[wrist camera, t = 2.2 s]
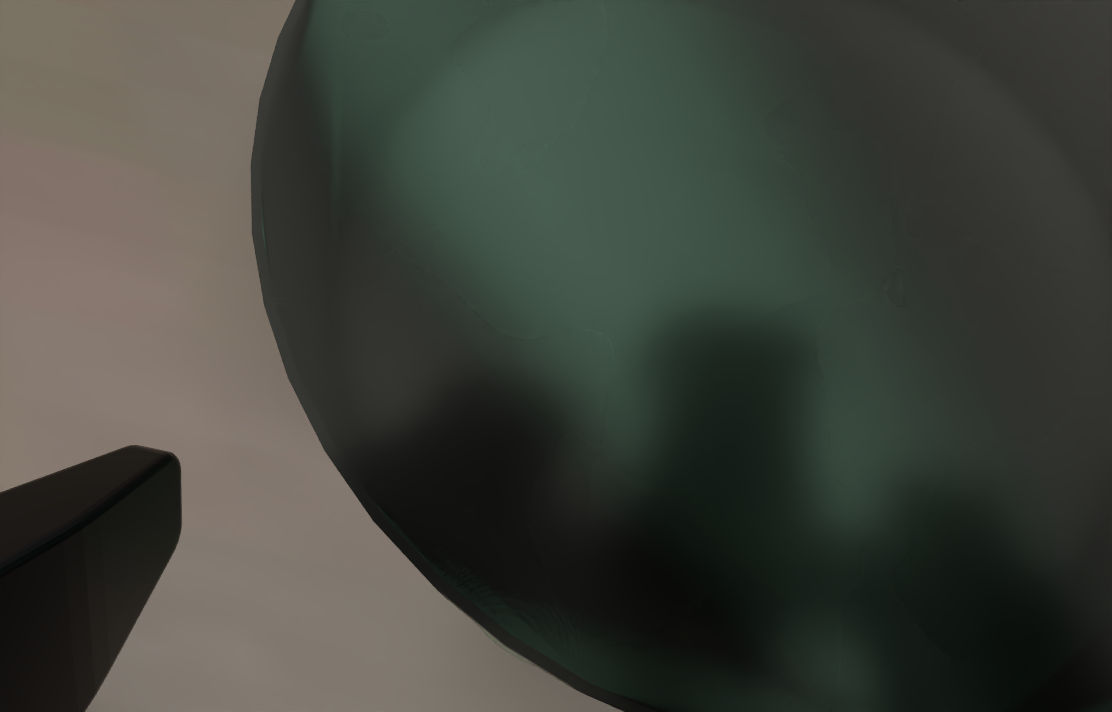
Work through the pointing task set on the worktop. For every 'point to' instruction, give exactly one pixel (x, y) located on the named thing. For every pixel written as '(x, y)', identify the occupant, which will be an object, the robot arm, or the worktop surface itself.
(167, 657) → the worktop surface
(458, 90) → the spout can
